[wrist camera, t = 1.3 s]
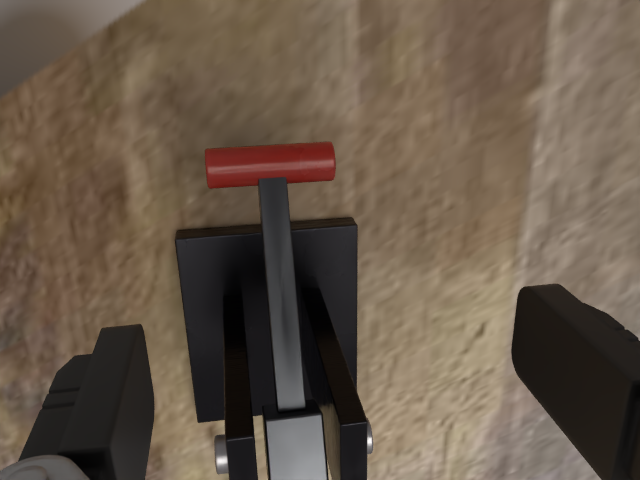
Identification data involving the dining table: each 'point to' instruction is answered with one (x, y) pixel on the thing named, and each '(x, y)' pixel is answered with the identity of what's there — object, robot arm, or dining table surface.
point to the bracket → (254, 337)
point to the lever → (281, 295)
